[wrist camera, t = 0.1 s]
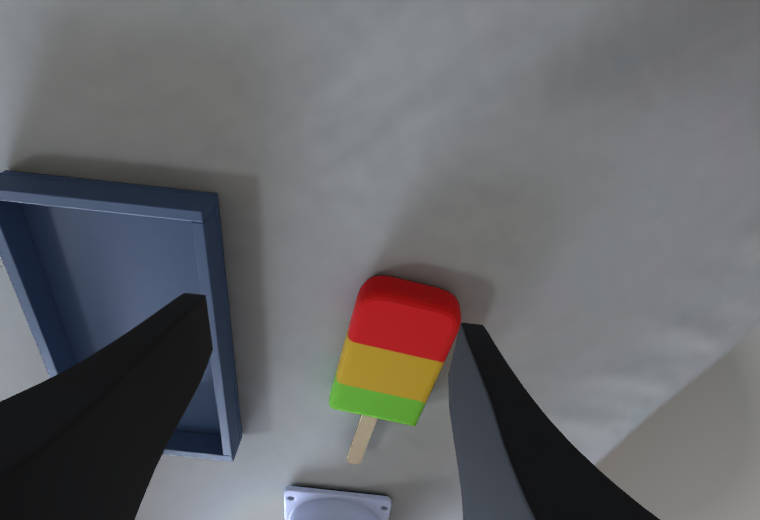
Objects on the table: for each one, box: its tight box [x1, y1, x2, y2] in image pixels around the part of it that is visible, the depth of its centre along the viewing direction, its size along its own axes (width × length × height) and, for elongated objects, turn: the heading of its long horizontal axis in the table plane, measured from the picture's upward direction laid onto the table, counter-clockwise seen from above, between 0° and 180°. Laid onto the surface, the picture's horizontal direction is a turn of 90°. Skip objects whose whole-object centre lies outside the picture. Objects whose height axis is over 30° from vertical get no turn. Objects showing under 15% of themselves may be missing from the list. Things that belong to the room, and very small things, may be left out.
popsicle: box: [329, 276, 461, 464], centre depth 27 cm, size 6×15×2 cm, turn 166°
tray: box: [0, 170, 242, 462], centre depth 26 cm, size 18×10×2 cm, turn 175°
